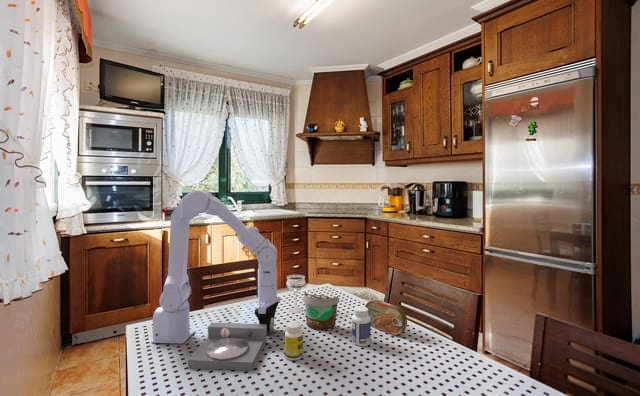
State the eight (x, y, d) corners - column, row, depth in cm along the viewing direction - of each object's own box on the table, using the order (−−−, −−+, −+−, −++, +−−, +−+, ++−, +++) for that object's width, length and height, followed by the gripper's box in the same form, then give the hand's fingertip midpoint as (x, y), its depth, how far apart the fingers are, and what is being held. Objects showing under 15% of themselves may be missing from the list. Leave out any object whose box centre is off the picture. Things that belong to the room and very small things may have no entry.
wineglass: (296, 305, 123) (296, 273, 123) (309, 310, 118) (309, 277, 118) (282, 310, 118) (282, 277, 118) (295, 315, 113) (295, 280, 113)
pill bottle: (372, 340, 95) (372, 307, 95) (367, 348, 90) (367, 313, 90) (354, 336, 97) (355, 304, 97) (348, 344, 92) (349, 310, 92)
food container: (296, 328, 103) (296, 296, 103) (304, 320, 109) (304, 290, 108) (333, 334, 98) (333, 301, 98) (339, 326, 104) (339, 295, 104)
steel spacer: (259, 335, 98) (259, 320, 98) (262, 329, 102) (262, 315, 102) (272, 336, 97) (272, 321, 97) (275, 330, 101) (275, 316, 101)
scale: (188, 367, 80) (187, 347, 80) (212, 339, 95) (212, 322, 95) (252, 370, 79) (252, 350, 79) (266, 341, 94) (266, 324, 94)
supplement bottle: (300, 361, 83) (300, 329, 83) (282, 359, 84) (282, 327, 84) (304, 352, 88) (304, 321, 88) (287, 350, 89) (287, 320, 88)
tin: (363, 323, 107) (363, 297, 107) (369, 320, 109) (370, 295, 109) (402, 339, 95) (402, 311, 95) (408, 336, 97) (409, 308, 97)
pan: (199, 359, 80) (199, 356, 80) (215, 339, 91) (215, 337, 91) (241, 361, 79) (241, 358, 79) (252, 341, 90) (252, 338, 90)
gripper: (275, 291, 92) (275, 339, 92) (284, 277, 106) (284, 319, 106) (250, 291, 92) (251, 338, 92) (263, 277, 107) (263, 318, 107)
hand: (267, 328), depth 100 cm, fingers open, 5 cm apart
